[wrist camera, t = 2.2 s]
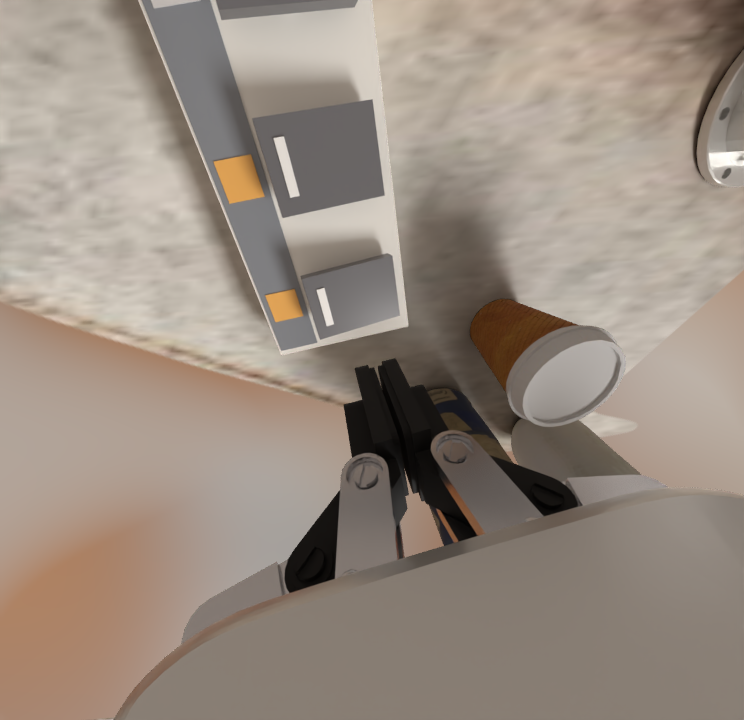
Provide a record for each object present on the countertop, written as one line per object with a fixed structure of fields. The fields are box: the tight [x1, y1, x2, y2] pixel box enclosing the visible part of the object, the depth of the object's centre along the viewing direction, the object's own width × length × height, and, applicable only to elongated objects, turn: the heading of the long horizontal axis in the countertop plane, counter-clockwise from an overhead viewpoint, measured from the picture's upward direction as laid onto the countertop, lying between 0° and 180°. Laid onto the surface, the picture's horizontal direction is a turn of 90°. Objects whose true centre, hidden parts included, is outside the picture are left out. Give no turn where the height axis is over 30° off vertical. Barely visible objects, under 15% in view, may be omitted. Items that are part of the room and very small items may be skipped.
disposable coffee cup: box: [470, 299, 626, 427], centre depth 28 cm, size 10×10×12 cm
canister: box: [427, 388, 513, 546], centre depth 31 cm, size 10×10×18 cm
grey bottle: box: [511, 418, 641, 482], centre depth 32 cm, size 10×10×28 cm
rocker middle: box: [252, 99, 385, 218], centre depth 18 cm, size 7×5×1 cm
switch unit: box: [138, 0, 408, 355], centre depth 21 cm, size 12×27×5 cm, turn 10°
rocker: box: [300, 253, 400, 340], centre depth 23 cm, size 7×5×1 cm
